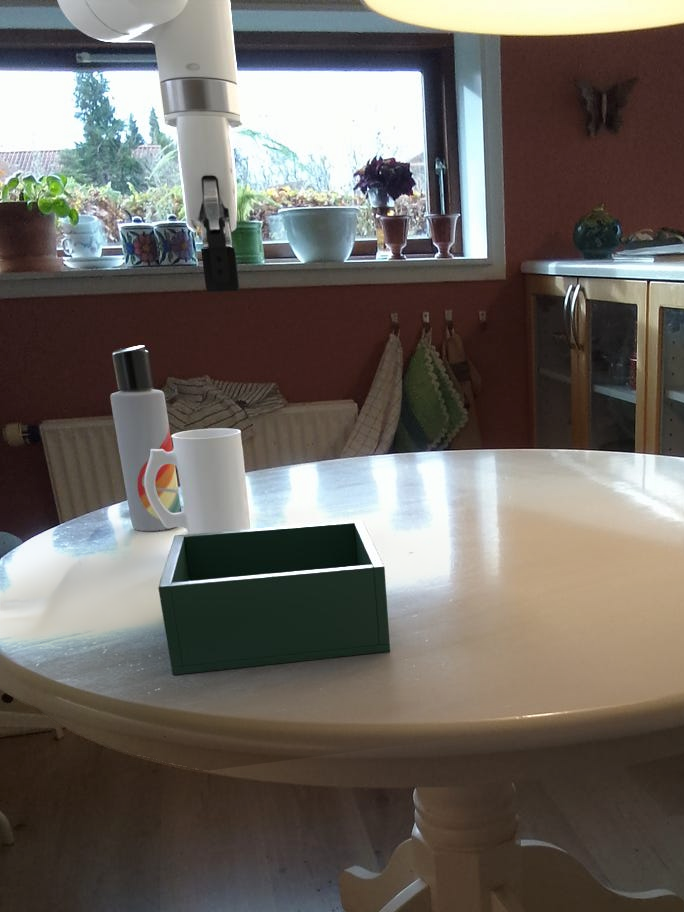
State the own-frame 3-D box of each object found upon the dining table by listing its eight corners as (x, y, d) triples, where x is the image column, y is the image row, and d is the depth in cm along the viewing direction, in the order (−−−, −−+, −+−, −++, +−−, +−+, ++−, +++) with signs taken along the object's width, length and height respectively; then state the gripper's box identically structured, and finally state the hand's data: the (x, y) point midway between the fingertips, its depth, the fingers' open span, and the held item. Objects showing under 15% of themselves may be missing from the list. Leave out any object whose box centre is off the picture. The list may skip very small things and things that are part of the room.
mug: (249, 536, 102) (235, 426, 97) (259, 551, 96) (246, 434, 91) (153, 548, 98) (134, 434, 94) (158, 564, 92) (139, 443, 88)
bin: (172, 675, 66) (158, 586, 63) (185, 610, 79) (174, 535, 76) (390, 651, 69) (384, 566, 66) (368, 592, 82) (362, 520, 80)
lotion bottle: (189, 526, 107) (162, 345, 99) (138, 534, 104) (107, 349, 97) (176, 517, 111) (150, 343, 104) (127, 524, 108) (97, 346, 101)
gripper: (169, 121, 99) (191, 292, 105) (155, 89, 83) (181, 292, 89) (241, 122, 100) (258, 290, 107) (240, 90, 85) (261, 290, 91)
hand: (223, 291), depth 98 cm, fingers open, 9 cm apart
